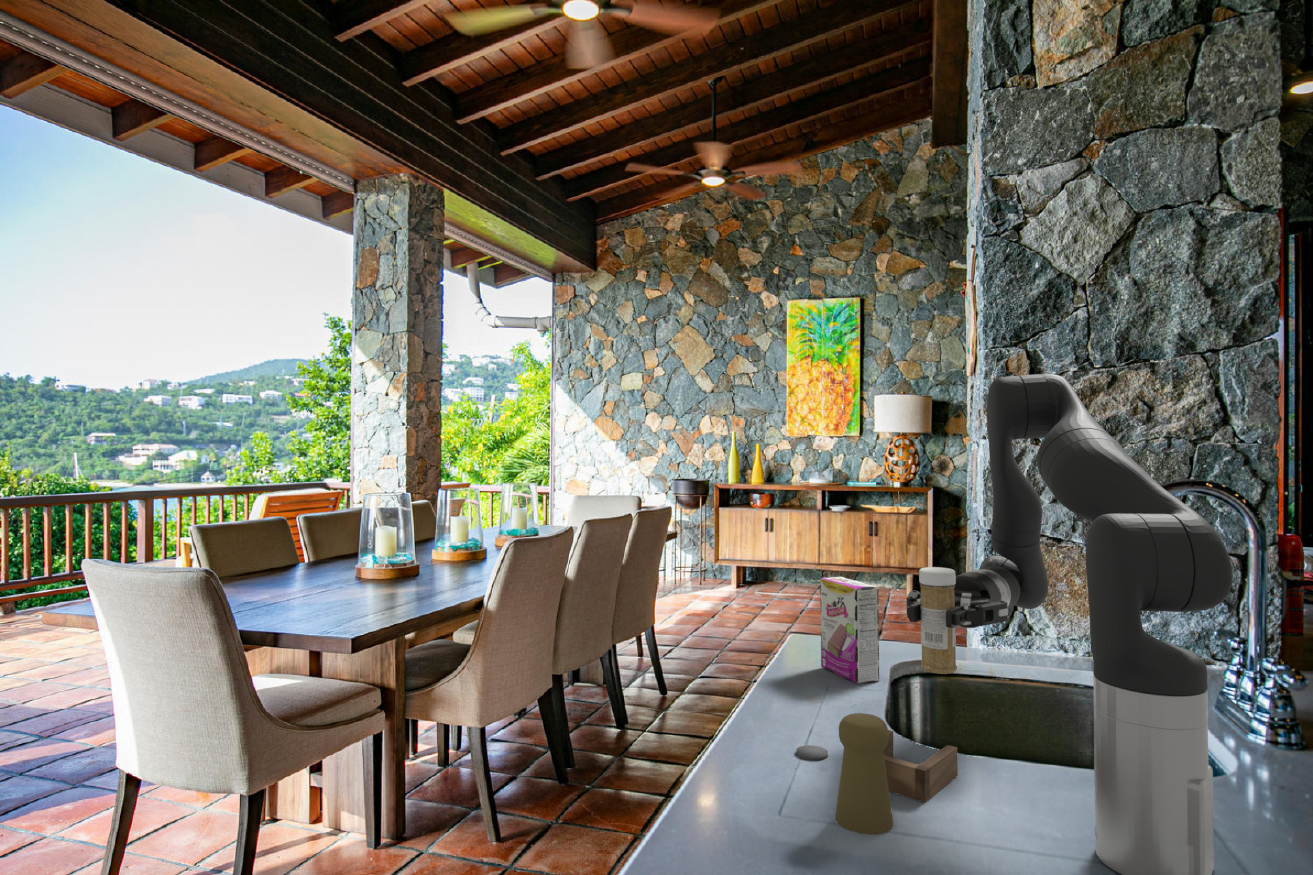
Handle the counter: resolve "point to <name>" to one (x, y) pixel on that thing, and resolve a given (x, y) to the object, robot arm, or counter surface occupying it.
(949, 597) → the spice jar
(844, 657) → the candy bar box
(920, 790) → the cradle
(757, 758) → the counter surface
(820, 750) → the disc
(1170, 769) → the robot arm
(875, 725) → the cork
